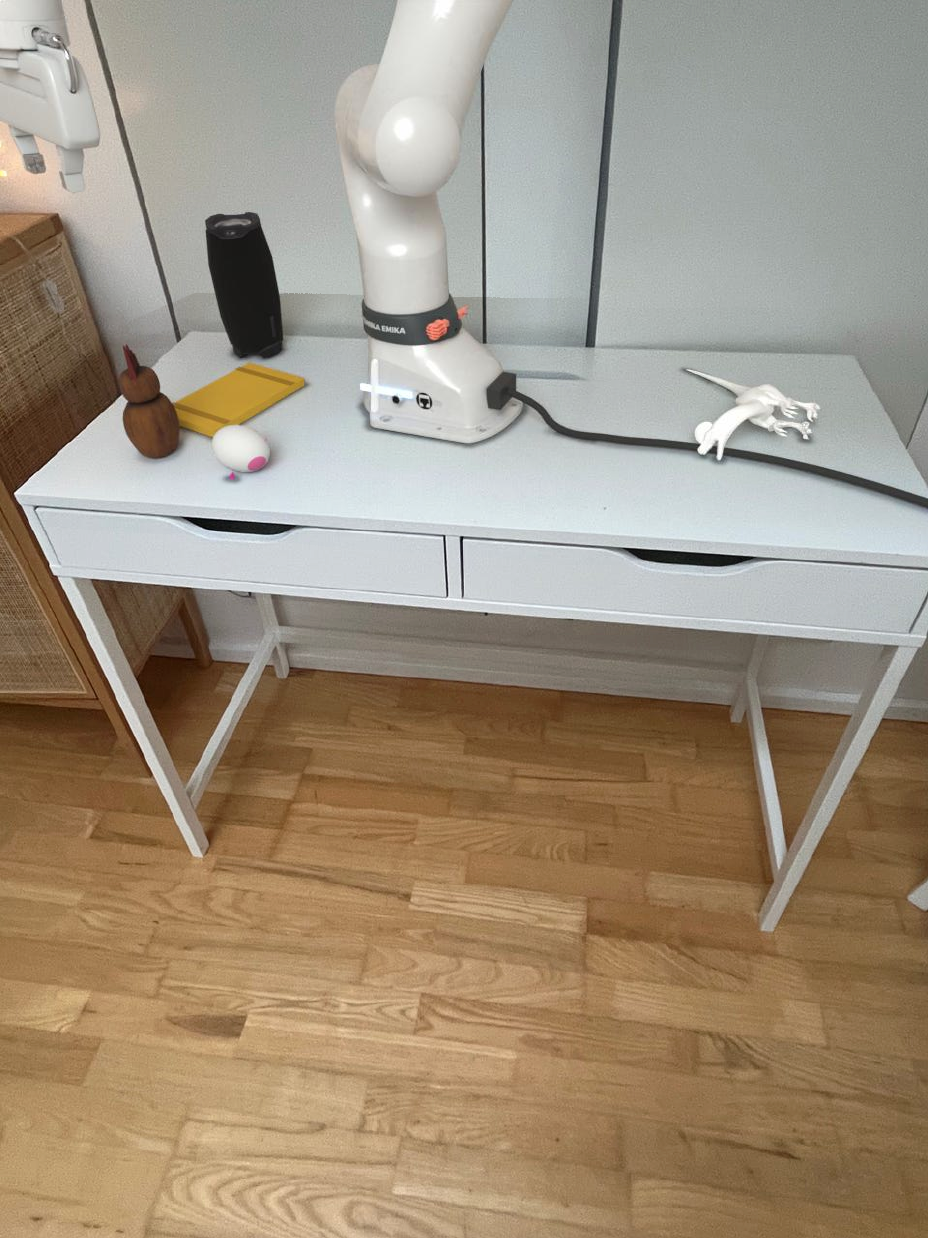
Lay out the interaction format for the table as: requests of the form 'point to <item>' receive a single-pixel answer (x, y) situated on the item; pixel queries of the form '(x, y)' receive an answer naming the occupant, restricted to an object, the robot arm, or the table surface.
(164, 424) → the wooden figurine
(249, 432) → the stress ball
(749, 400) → the dinosaur
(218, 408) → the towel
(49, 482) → the table surface
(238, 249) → the portable speaker
